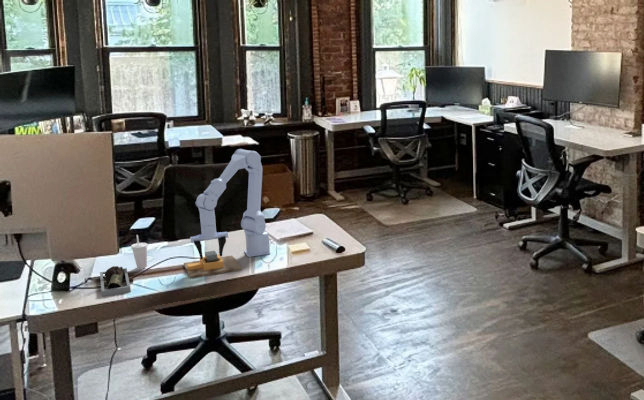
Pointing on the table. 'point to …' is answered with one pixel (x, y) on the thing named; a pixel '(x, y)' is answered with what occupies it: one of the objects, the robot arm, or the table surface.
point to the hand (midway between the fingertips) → (211, 257)
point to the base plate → (229, 266)
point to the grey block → (210, 256)
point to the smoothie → (140, 254)
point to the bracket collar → (206, 264)
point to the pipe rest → (115, 290)
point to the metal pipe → (114, 277)
